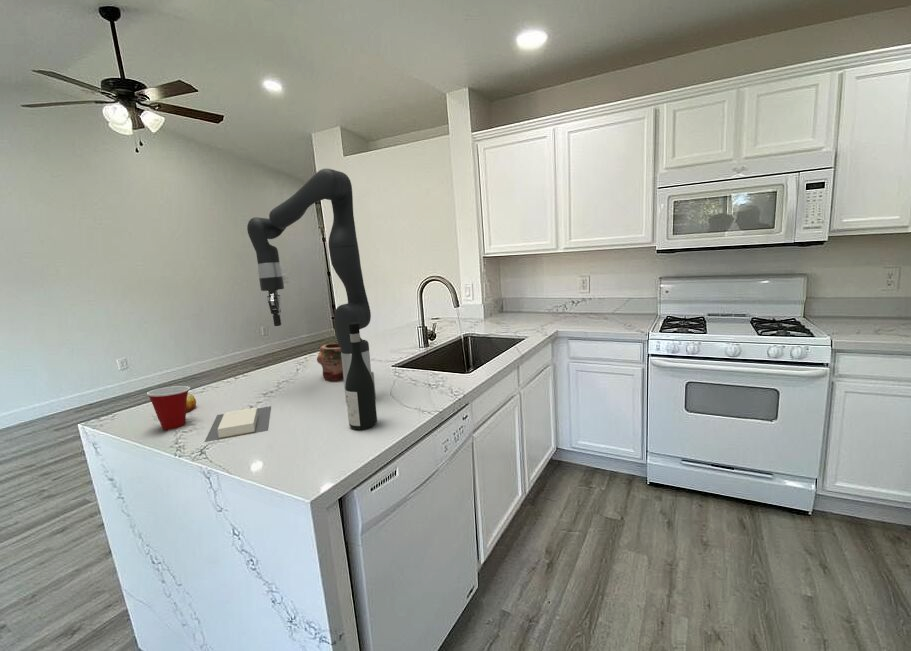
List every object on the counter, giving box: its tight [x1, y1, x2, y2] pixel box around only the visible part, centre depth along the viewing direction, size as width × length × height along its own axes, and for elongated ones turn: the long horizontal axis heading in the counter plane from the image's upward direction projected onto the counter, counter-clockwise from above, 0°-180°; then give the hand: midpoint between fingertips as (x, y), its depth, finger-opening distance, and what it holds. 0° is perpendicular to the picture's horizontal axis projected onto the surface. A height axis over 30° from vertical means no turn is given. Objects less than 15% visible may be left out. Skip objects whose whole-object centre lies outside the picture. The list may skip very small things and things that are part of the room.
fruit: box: [186, 392, 197, 414], centre depth 141 cm, size 11×10×8 cm
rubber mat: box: [204, 405, 272, 443], centre depth 128 cm, size 22×16×1 cm
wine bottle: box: [344, 322, 378, 431], centre depth 120 cm, size 8×8×30 cm
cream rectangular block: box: [218, 407, 258, 439], centre depth 125 cm, size 3×9×14 cm
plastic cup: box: [146, 385, 191, 432], centre depth 128 cm, size 11×11×12 cm
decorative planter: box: [316, 342, 344, 383], centre depth 170 cm, size 20×12×14 cm, turn 71°
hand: (277, 325), depth 149 cm, fingers closed
